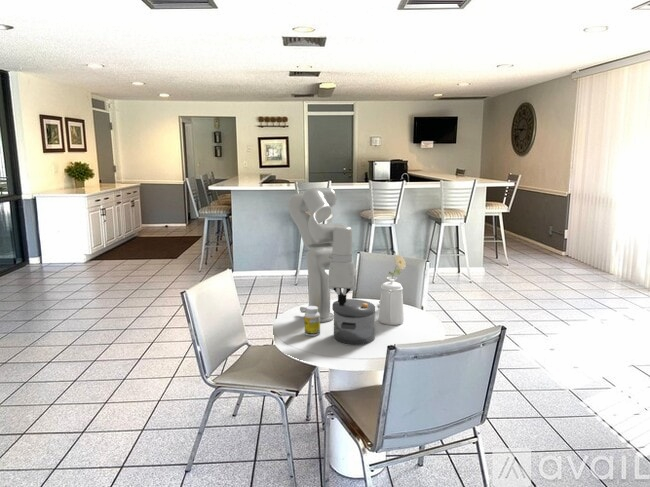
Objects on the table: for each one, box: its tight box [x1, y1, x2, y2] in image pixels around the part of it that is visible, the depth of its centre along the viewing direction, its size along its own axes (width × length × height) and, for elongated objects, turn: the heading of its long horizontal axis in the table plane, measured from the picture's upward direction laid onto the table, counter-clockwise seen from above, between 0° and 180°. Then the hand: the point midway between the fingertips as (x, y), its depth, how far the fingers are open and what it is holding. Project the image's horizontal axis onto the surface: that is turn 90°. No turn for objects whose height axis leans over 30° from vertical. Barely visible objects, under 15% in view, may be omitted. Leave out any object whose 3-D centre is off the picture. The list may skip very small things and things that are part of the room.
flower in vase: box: [379, 253, 407, 304], centre depth 224 cm, size 13×11×25 cm
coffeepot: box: [377, 279, 405, 326], centre depth 202 cm, size 11×25×19 cm, turn 168°
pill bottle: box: [303, 305, 321, 337], centre depth 189 cm, size 6×6×11 cm
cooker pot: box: [333, 311, 376, 346], centre depth 186 cm, size 16×21×11 cm
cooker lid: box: [331, 298, 376, 317], centre depth 184 cm, size 17×17×3 cm
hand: (342, 304), depth 185 cm, fingers closed
